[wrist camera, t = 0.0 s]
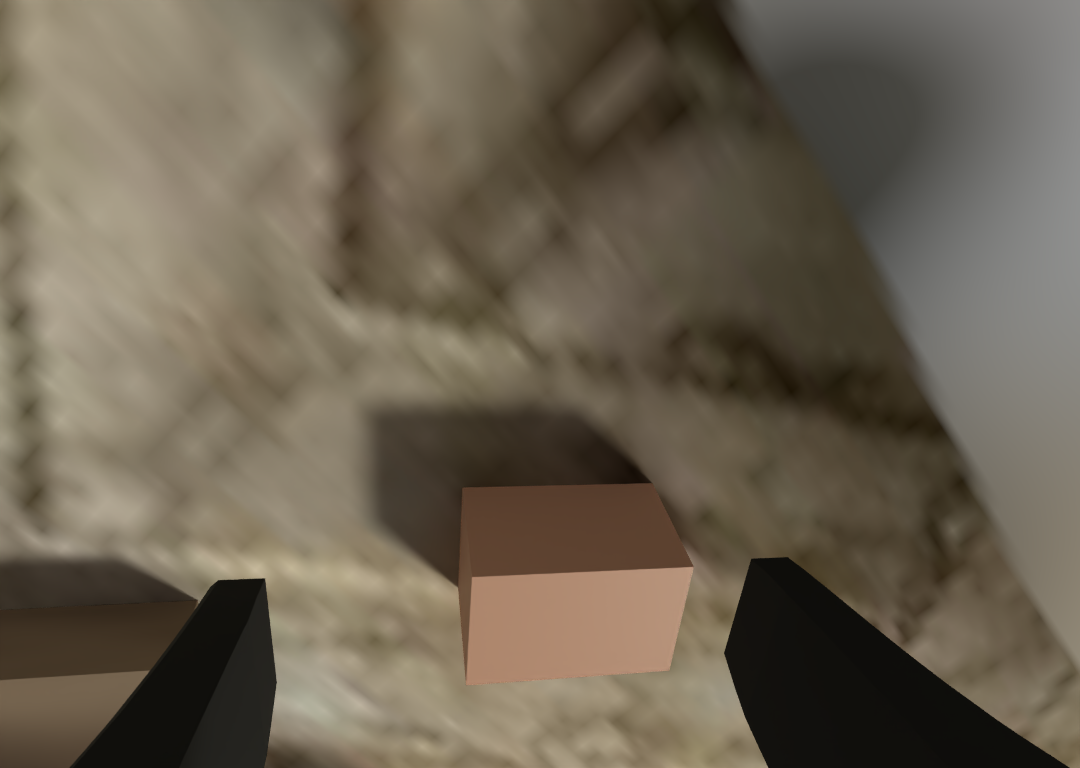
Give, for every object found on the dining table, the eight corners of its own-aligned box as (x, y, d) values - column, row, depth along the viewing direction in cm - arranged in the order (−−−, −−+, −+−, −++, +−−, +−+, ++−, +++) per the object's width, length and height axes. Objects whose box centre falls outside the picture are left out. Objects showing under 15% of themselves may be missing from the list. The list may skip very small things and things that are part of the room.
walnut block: (229, 756, 26) (210, 840, 24) (-17, 778, 25) (-67, 869, 22) (200, 591, 23) (173, 668, 20) (-91, 605, 21) (-161, 690, 19)
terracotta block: (632, 576, 25) (669, 670, 21) (457, 584, 24) (466, 685, 20) (651, 480, 23) (693, 567, 20) (462, 484, 22) (472, 576, 19)
